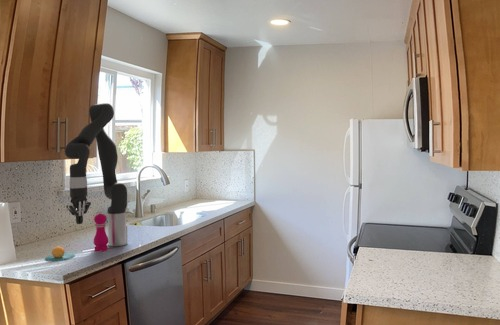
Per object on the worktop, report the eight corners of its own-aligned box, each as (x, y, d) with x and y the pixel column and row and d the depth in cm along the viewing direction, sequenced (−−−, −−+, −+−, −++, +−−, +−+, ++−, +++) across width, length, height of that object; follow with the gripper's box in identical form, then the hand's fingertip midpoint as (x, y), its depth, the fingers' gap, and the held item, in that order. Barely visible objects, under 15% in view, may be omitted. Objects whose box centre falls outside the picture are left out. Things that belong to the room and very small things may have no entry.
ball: (58, 248, 200) (64, 243, 198) (61, 259, 198) (68, 254, 196) (47, 250, 195) (54, 245, 193) (51, 261, 193) (58, 255, 191)
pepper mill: (103, 247, 215) (102, 209, 214) (111, 249, 210) (110, 210, 209) (90, 250, 209) (89, 211, 208) (98, 252, 205) (97, 212, 204)
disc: (61, 252, 205) (61, 252, 205) (80, 255, 200) (80, 254, 200) (38, 259, 193) (38, 259, 193) (58, 262, 188) (58, 261, 188)
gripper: (83, 185, 198) (84, 220, 198) (60, 187, 186) (62, 225, 186) (95, 185, 195) (96, 221, 195) (73, 188, 183) (74, 227, 183)
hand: (79, 223), depth 191 cm, fingers closed
